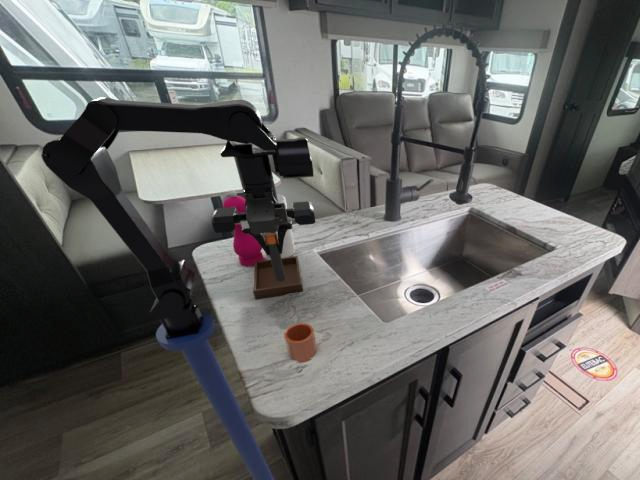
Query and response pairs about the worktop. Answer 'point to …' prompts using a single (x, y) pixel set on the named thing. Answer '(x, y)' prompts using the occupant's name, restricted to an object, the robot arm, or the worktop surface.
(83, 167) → the robot arm
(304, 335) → the pen cup
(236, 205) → the pepper mill
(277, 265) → the marker
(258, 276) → the tray
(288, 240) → the cup
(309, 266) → the worktop surface
